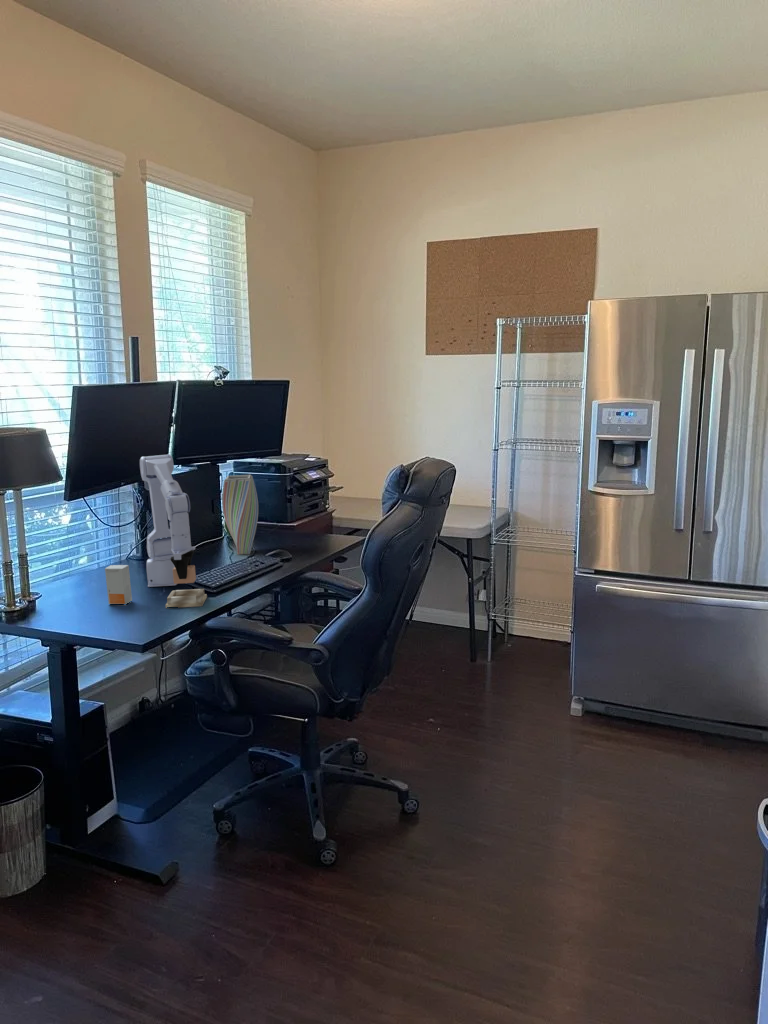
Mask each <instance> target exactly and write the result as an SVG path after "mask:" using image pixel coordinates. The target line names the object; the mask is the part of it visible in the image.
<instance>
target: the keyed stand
mask: <svg viewBox="0 0 768 1024" xmlns="http://www.w3.org/2000/svg"><path fill="white" fill-rule="evenodd" d="M207 598H208V595H207V593H205V588H194V589H193V588H191V589H175V590H172V591H171V592H170V593H169V595H168V596H167V598H166V600H167V601H166V603H165V609H168V608H167V607H178V608H190V607H191V608H194V607H195V608H196V607H203V605H204V604H205V601H206V600H207Z"/></svg>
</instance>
